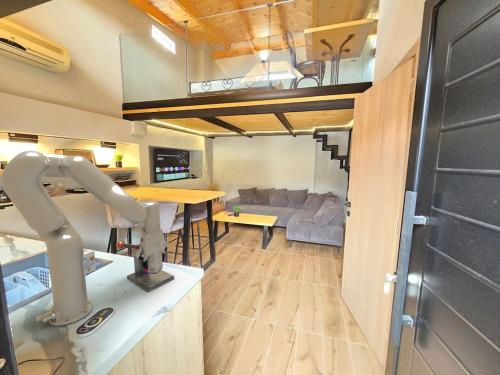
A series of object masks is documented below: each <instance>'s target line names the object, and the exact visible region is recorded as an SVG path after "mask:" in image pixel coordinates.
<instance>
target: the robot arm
mask: <svg viewBox="0 0 500 375" xmlns="http://www.w3.org/2000/svg"><path fill="white" fill-rule="evenodd" d="M45 177H47V178H70V179H71V180H72V181H73V182H75V183H76V184H77V185H79V186H80V187H81V188H82V189H84V190H85V191H87V192H88V193H89V194H90V195H91V196H93V197H94V198H96V199H97V200H98V201H100V202H101V203H104V204H105V205H107V206H109V207H110V208H112V209H113V210H115V211H116V212H117V213H118V214H120V217H121V218H123V219H124V220H126V221H127V222H129V223H131V224H134V225H135V224H137V225H139V224H141V228H139V232H141V233H140V239H139V240H140V241H139V242H140V243H139V244H140V248H139V250H138V249H137V250H136V251H137V252H136V253H135V254H134V253H133V256H134V255H135V256H136V257H137V258H138V259H140V260H142V267H143V268H144V269H148V264H147V260H146V259H147V257H148V256H149V255H152V254H153V250H154V249H158V252H160V251H162V263H165V258H166V256H165V254H166V251H167V250H168V248H169V246H170V242H167V241H166V239H165V235H164V233H165V232H164V231H163V228H161V214H160V213H161V212H160V209H161V208H160V203H159V202H158V201H156V200H150V201H144V202H139V201H137V199H135V197H134V196H132V195H130V193H128V192H127V191H125V190H124V189H123V188H122V187H121V186H120V185H119V184H117V183H115V181H113V180H112V179H111V178H110V177H109V176H108V175H106V173H104V172H103V171H102V170H101V169H100V168H99V167H97V166H96V165H95V164H94V163H93V162H91V160H89V159H88V158H86V157H85V156H83V155H78V154H77V155H76V154H75V155H63V154H54V153H53V154H52V153H44V152H39V151H36V150H26V151H25V150H24V151H21V152H20V153H19V152H18V154H16V155H15V156H14V157H12V159H11V160H10V161H9V162H8V163H7V164H6V165H5V167H4V169H3V170H2V174H1V185H2V187H3V191H4V192H5V193H6V194H5V195H6V196H7V197H8V198H9V199H10V201H11V203H13V205H14V206H15V209H17V211H18V212H19V214H20V215H21V216H22V217H23V219H24V220H25V221H26V222H25V223H26V224H27V226H28V227H29V228H30V229H32V231H35V232H36V233H37V235H38V236H39V237H40V238H41V240H42V241H43V242H44V244H45V247H46V252H47V261H48V270H49V278H50V285H51V293H52V294H51V296H52V302H53V304H52V306H51V307H50V309H49V310H48V311H47V312H45V313H43V314H39V315H37V316H35V321H36V323H40V322H42V323H43V324H44V323H47V322H49V324H50V325H51V326H54V327H60V326H67V325H71V324H73V323H75V322H79V320H82V319H83V318H84V319H85V317H86V316H88V315H89V314H90V313H91V312H92V311H93V310H94V302H92V301H91V300H88V291H87V290H88V289H87V281H86V275H85V268H84V250H85V247H84V240H83V238H82V237H81V235H80V234H79V233H78V231H77V230H76V229H75V228H74V226H73V224H72V223H71V222H70V221H69V219H68V217H67V216H66V215H65V213H64V211H63V209H62V208H61V207H60V206H59V205H58V204H56V203H55V201H54V199H53V198H52V197H51V196H50V193H49V192H48V191H47V189H46V188H45V186H44V184H43V178H45ZM140 253H142V256H140Z"/></svg>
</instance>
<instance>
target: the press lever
mask: <svg viewBox="0 0 500 375" xmlns="http://www.w3.org/2000/svg"><path fill="white" fill-rule="evenodd" d="M115 246H116V249H118V250H123V249H124V248H125V249H133V250H137V251H138V250H139V248H140V243H138V244H133V243H132V244H131V243H126V242H125V241H123V240H119V241H118V242H116V244H115Z"/></svg>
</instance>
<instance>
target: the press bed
mask: <svg viewBox="0 0 500 375" xmlns="http://www.w3.org/2000/svg"><path fill="white" fill-rule="evenodd" d="M137 251H138V250H134V251H133V263H134V265H133V266H134V272H133V273H131V274H128V275H126V279H127V280H129V281H130V282H131V283H133V284H135V285H136V286H137V287H139V288H140V289H142V290H143V291H145V292H146V293H150V292H152V291H154V290H157V289H158V288H160V287H162V286H164V285H166V284H168V283H170V282H172V281H175V276H174V275H172V274H171V273H169V272H166V271H164V270H163V269H161V270H160V271H159V272H158V273H157V274H148V273H145V269H144V268H143V267H142V260H140V259H138V258H137V257H136V256H135V255H134V254H135V253H136V252H137ZM140 256H142V253H140Z"/></svg>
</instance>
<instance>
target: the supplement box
mask: <svg viewBox="0 0 500 375" xmlns="http://www.w3.org/2000/svg"><path fill="white" fill-rule="evenodd" d="M146 260H147V264H148V269H145V273H148V274H157V273H158V272H159V271H160V270H163V268H164V267H163V265H164V264H163V263H164V262H162V251H160V252H158V249H154V250H153V254H152V255H149V256H148V257H147V259H146Z"/></svg>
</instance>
